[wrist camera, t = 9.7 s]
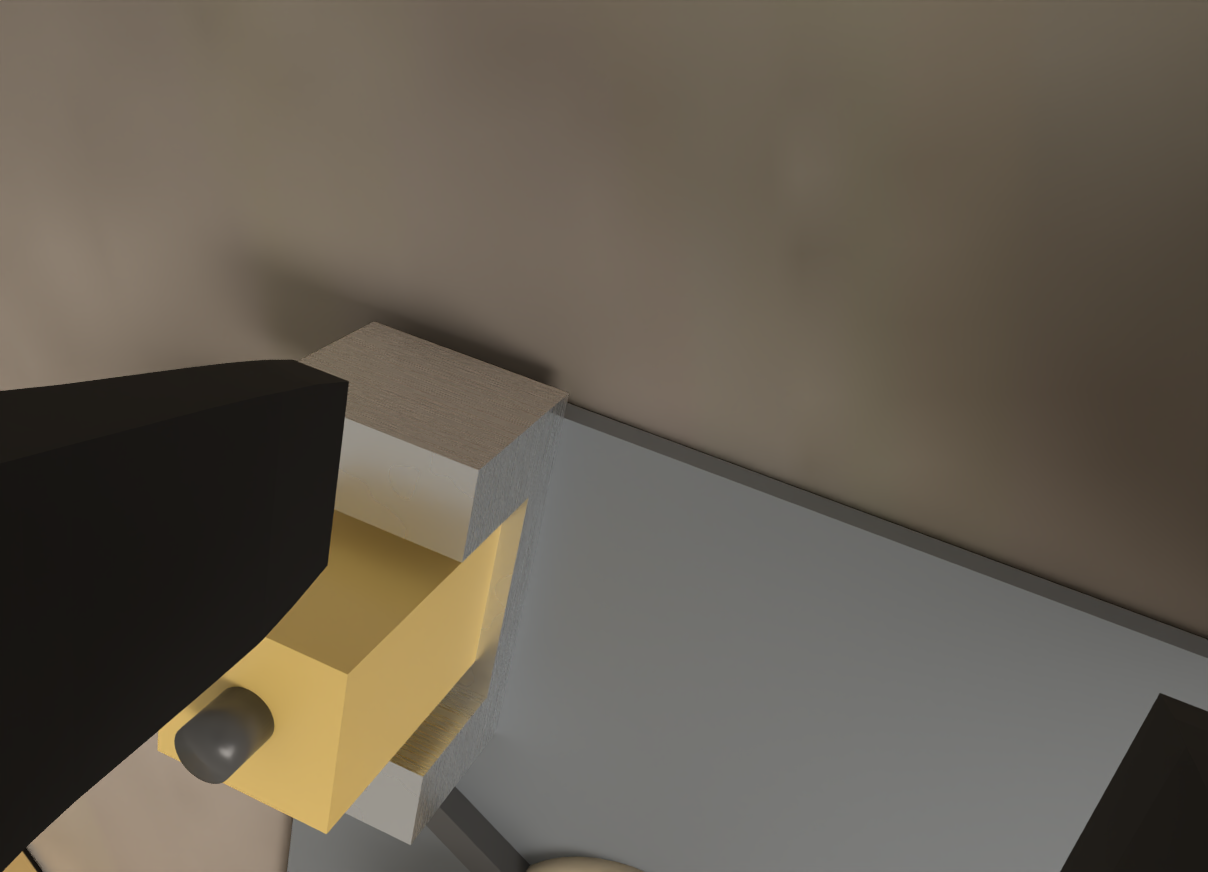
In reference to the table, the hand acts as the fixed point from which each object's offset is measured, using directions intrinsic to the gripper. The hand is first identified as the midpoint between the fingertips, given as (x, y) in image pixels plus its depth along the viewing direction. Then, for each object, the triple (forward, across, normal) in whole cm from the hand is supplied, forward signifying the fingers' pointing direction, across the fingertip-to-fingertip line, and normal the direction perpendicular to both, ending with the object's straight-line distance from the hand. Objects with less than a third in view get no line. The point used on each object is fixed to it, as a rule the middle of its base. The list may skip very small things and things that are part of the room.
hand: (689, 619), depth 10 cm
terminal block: (+9, +6, +7) cm, 13 cm away
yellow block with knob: (+8, +6, +7) cm, 13 cm away
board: (+10, 0, +12) cm, 16 cm away
